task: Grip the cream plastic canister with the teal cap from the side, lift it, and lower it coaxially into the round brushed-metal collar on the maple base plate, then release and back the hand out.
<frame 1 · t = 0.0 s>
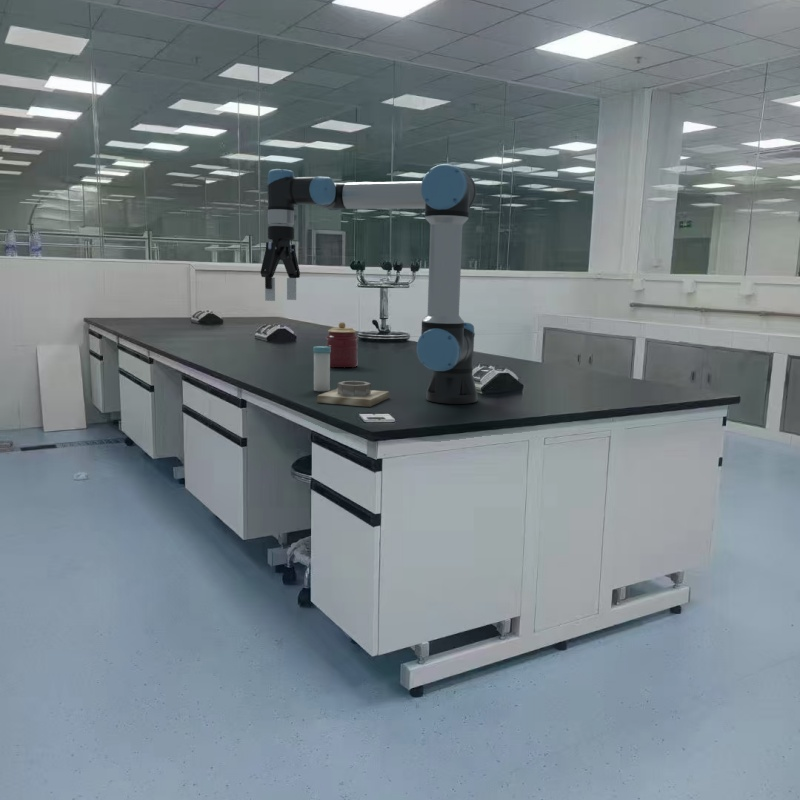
hand: (281, 300, 208), 28 cm above the table, fingers open, 13 cm apart
collar base: (353, 400, 206), on the table
canister: (321, 390, 223), on the table
canister 2: (341, 366, 285), on the table
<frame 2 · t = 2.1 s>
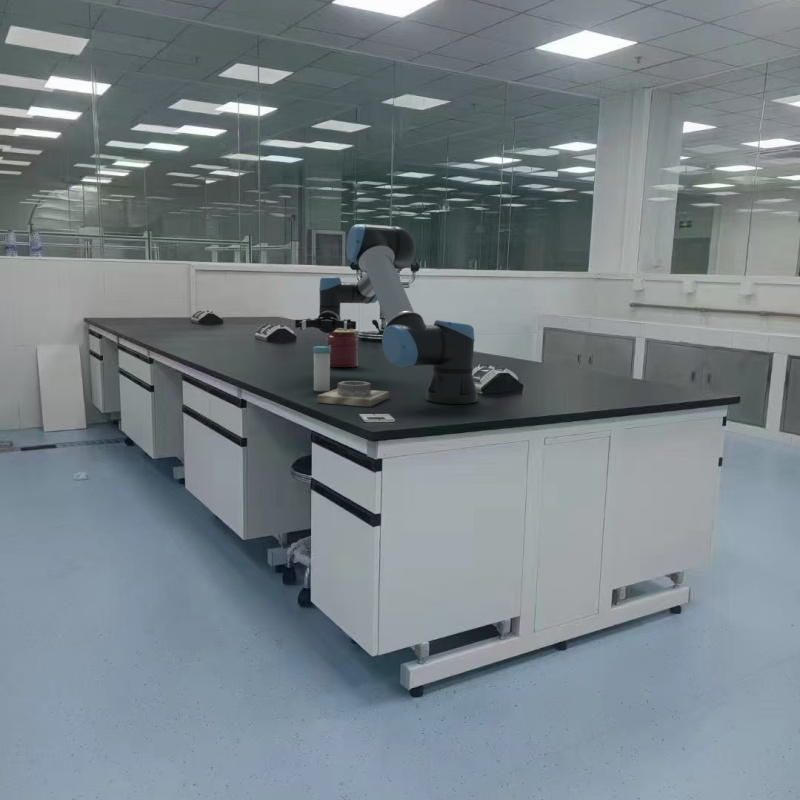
hand: (324, 326, 229), 19 cm above the table, fingers open, 13 cm apart
nothing on the table moved.
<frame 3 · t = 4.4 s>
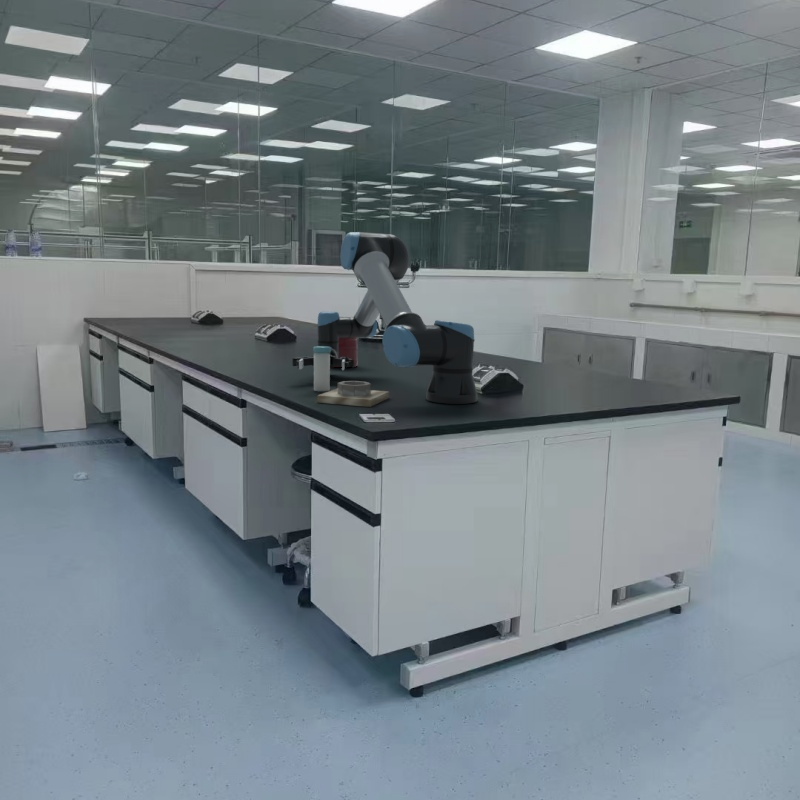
hand: (321, 365, 226), 7 cm above the table, fingers open, 13 cm apart
nothing on the table moved.
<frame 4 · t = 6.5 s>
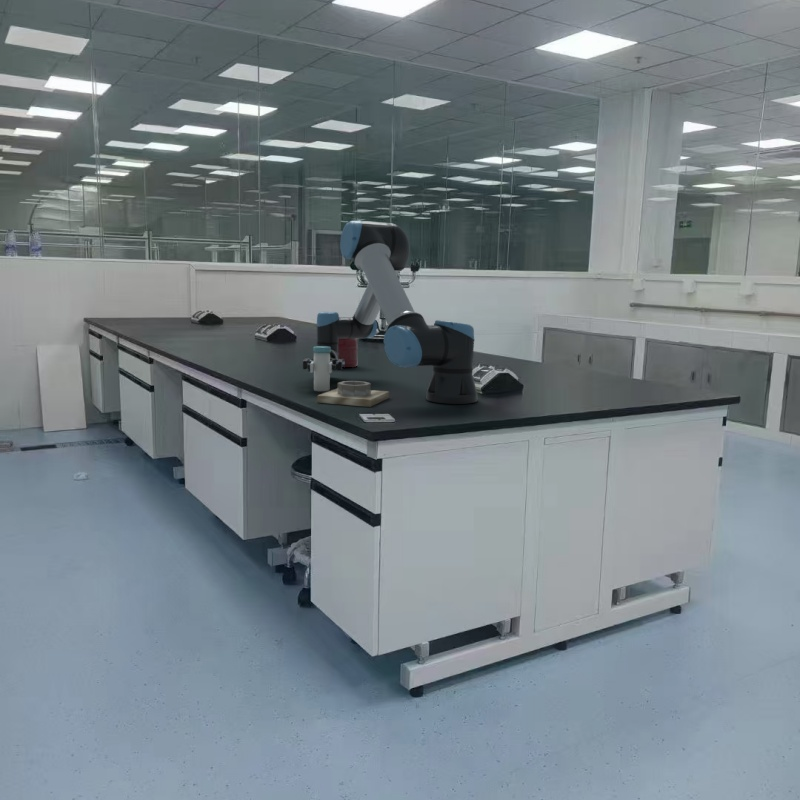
hand: (320, 368, 217), 8 cm above the table, fingers closed on canister, 5 cm apart
canister: (321, 390, 223), on the table, touching gripper
everything else where it was.
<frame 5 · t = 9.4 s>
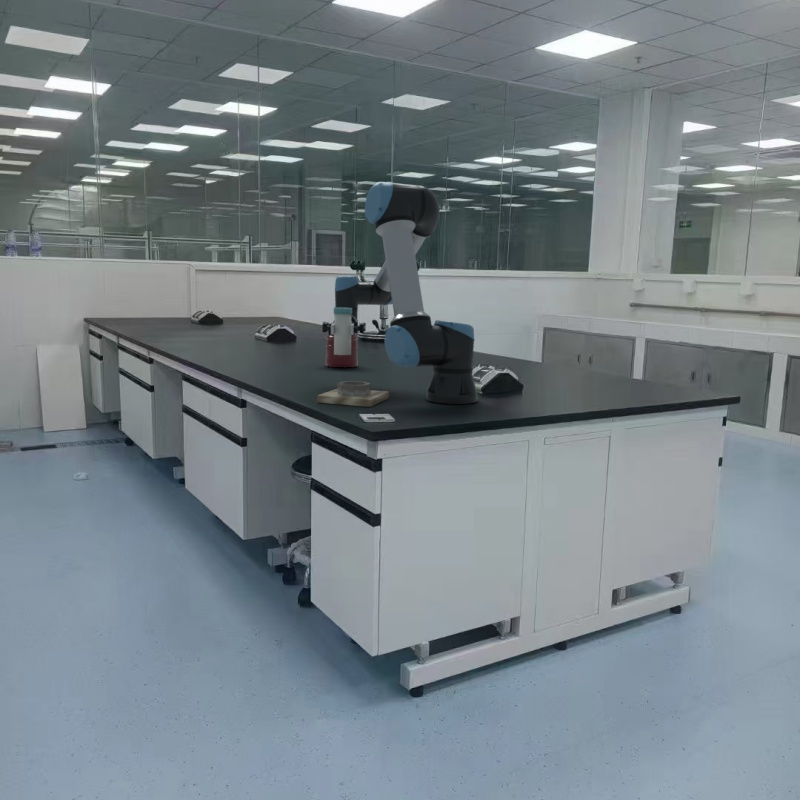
hand: (342, 329, 204), 20 cm above the table, fingers closed on canister, 5 cm apart
canister: (342, 354, 210), point 13 cm above the table, touching gripper
everything else where it was.
when the fingers open (10 cm above the table, at t = 12.6 s): canister stays where it is, resting on collar base.
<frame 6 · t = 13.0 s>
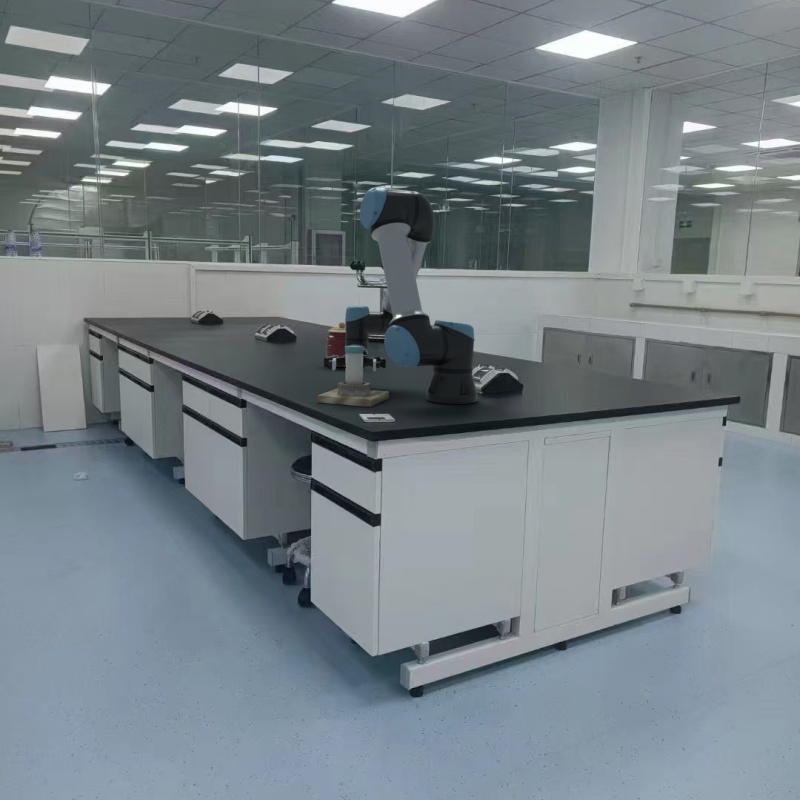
hand: (354, 366, 200), 10 cm above the table, fingers open, 11 cm apart
canister: (354, 393, 206), point 2 cm above the table, touching collar base
everything else where it was.
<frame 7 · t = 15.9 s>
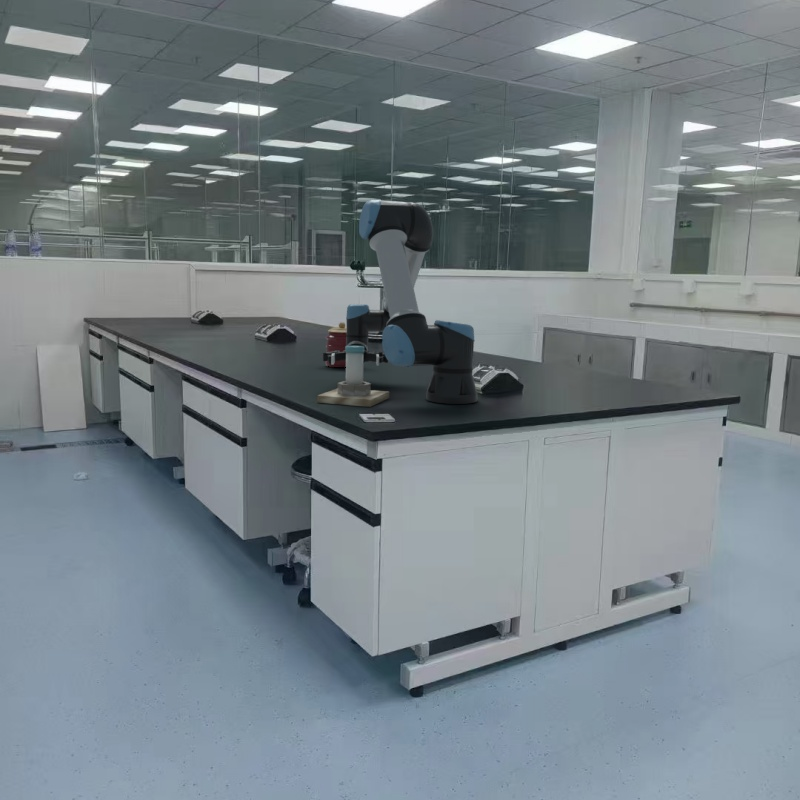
hand: (355, 360, 213), 11 cm above the table, fingers open, 13 cm apart
nothing on the table moved.
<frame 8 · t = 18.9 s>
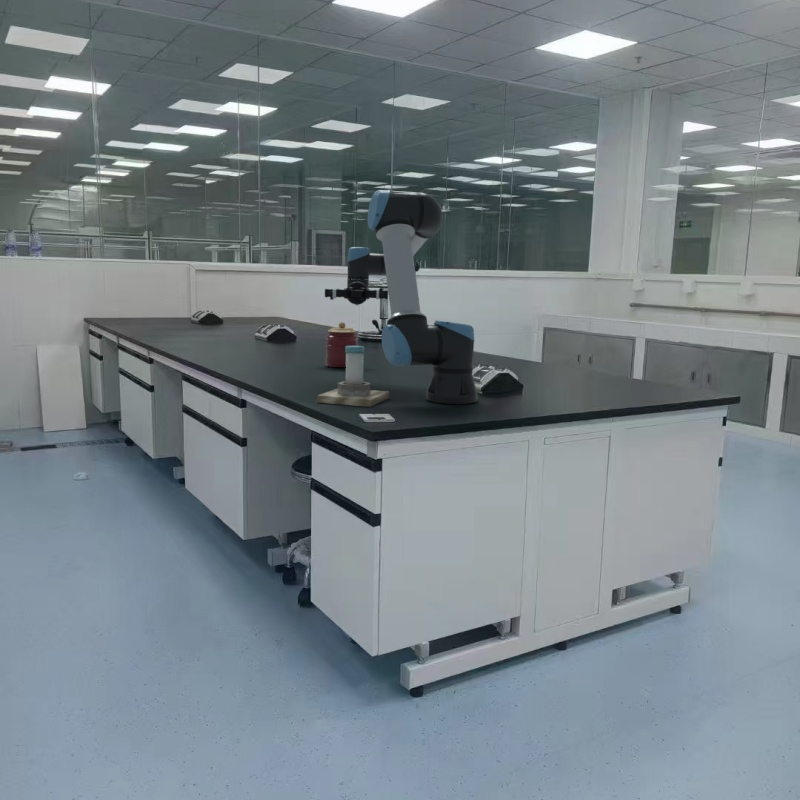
hand: (355, 294, 220), 30 cm above the table, fingers open, 13 cm apart
nothing on the table moved.
at the end: canister 0.1 cm off-centre on the collar base, point 2.0 cm above the collar base's base; canister tilted 0°; the gripper is holding nothing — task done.
